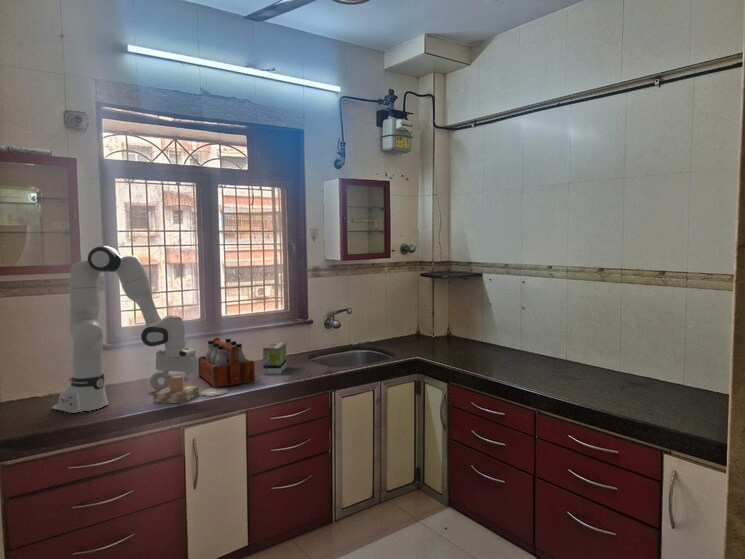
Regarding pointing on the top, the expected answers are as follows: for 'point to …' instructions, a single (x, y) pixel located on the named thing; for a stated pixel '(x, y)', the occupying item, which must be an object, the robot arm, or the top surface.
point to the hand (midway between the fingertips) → (177, 380)
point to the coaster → (214, 391)
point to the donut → (155, 383)
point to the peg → (176, 383)
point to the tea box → (274, 358)
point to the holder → (176, 395)
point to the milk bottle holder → (225, 364)
